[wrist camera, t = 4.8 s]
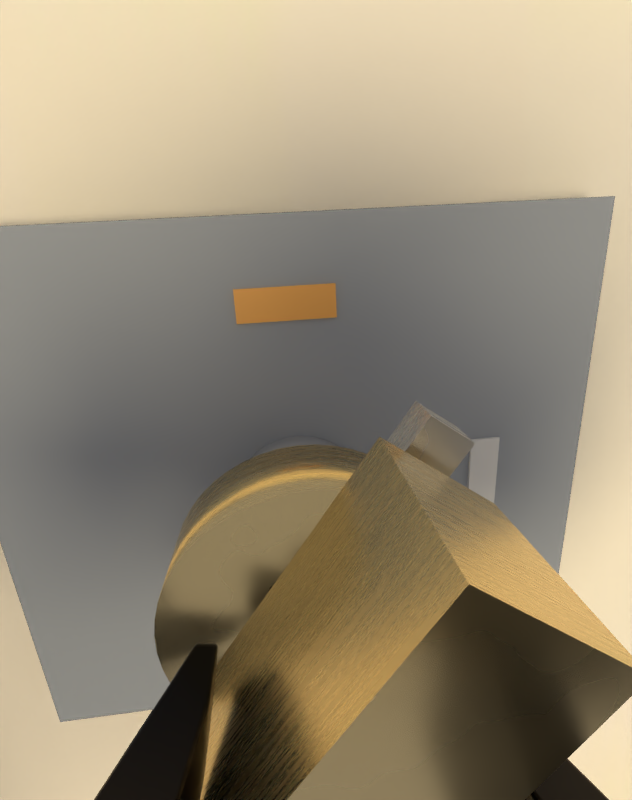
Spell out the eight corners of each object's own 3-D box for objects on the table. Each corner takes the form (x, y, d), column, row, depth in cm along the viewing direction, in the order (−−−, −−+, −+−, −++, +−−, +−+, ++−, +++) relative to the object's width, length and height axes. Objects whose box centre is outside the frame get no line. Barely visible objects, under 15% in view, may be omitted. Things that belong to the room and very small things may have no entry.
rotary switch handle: (326, 715, 14) (369, 1058, 8) (111, 636, 12) (-40, 1002, 6) (529, 468, 12) (791, 686, 6) (304, 327, 10) (358, 437, 4)
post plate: (73, 693, 19) (15, 824, 14) (-70, 233, 13) (-240, 223, 8) (530, 633, 20) (600, 735, 16) (587, 200, 14) (721, 179, 10)
